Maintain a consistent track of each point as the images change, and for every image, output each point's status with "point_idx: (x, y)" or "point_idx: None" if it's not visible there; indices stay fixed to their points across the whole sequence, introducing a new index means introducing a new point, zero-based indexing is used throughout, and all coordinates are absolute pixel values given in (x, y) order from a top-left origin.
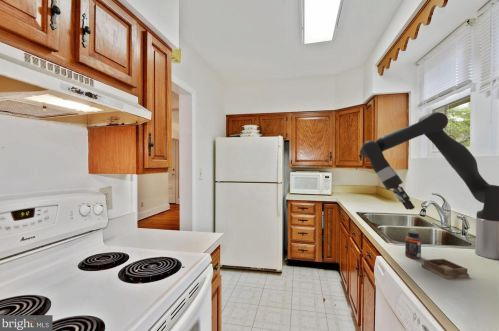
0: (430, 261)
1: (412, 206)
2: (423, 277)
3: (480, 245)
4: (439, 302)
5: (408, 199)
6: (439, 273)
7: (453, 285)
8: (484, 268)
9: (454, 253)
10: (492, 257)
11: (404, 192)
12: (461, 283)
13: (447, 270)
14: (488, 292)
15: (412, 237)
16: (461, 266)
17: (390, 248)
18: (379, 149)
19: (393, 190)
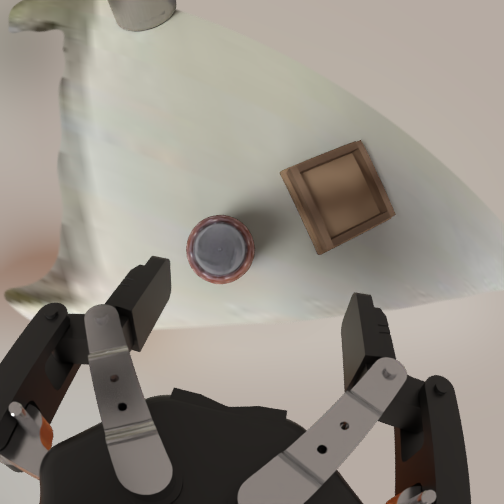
0: (323, 225)
1: (382, 319)
2: (393, 279)
3: (147, 6)
4: (480, 288)
5: (415, 380)
6: (375, 226)
7: (416, 219)
8: (264, 63)
9: (141, 84)
10: (173, 9)
11: (458, 458)
12: (399, 190)
13: (393, 210)
14: (422, 155)
15: (244, 261)
16: (346, 146)
17: None
18: None
19: (13, 468)
